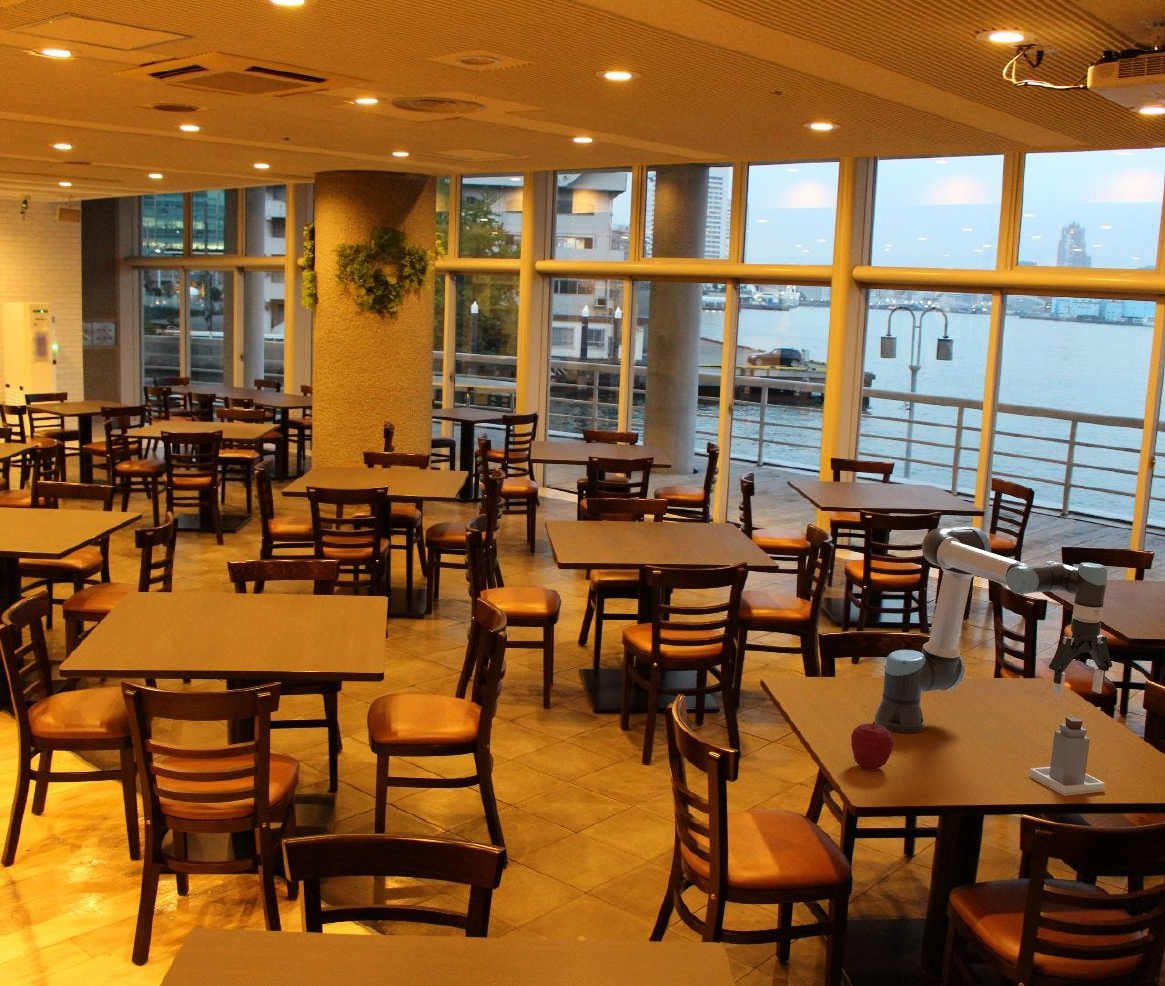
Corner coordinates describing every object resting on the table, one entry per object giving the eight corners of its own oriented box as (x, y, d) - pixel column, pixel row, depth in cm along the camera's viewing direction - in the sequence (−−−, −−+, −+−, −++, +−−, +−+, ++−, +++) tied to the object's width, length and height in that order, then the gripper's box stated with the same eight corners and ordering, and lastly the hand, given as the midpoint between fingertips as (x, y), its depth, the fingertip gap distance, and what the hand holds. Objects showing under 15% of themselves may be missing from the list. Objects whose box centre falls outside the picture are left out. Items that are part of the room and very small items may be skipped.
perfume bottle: (1049, 776, 352) (1056, 715, 349) (1071, 776, 353) (1078, 715, 350) (1061, 785, 345) (1069, 723, 342) (1084, 785, 346) (1091, 723, 343)
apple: (882, 779, 344) (887, 733, 342) (842, 769, 350) (846, 723, 348) (896, 767, 354) (900, 722, 352) (857, 757, 360) (861, 713, 358)
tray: (1064, 795, 340) (1065, 787, 340) (1029, 776, 353) (1030, 768, 353) (1104, 791, 345) (1105, 783, 345) (1068, 772, 358) (1069, 764, 358)
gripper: (1060, 624, 334) (1051, 700, 337) (1132, 621, 343) (1122, 694, 346) (1041, 617, 341) (1032, 691, 344) (1111, 614, 350) (1102, 686, 353)
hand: (1077, 693), depth 345 cm, fingers open, 13 cm apart
